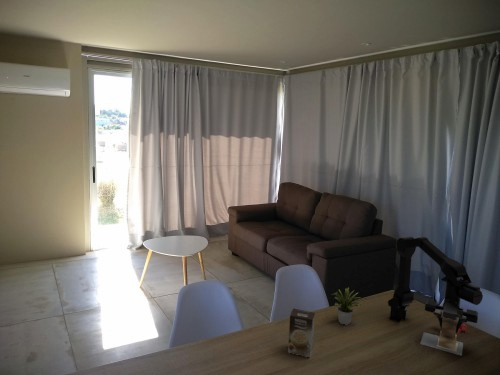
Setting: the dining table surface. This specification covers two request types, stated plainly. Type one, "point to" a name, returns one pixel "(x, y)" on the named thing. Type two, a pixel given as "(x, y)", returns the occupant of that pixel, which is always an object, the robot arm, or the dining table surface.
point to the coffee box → (301, 332)
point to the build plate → (434, 342)
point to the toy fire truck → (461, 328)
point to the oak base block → (447, 341)
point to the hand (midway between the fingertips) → (448, 330)
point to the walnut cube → (449, 327)
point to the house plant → (346, 306)
